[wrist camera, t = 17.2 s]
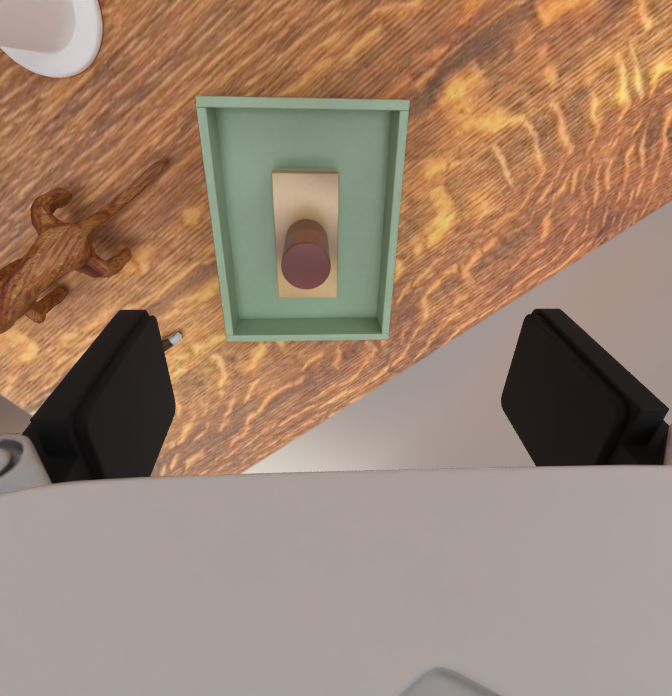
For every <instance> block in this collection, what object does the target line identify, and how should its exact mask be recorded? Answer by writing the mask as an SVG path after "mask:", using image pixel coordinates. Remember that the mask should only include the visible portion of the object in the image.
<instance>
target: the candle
mask: <svg viewBox="0 0 672 696" xmlns="http://www.w3.org/2000/svg"><path fill="white" fill-rule="evenodd" d="M102 32H103V26H102V16H101V10H100V7H99V3H98V0H0V48H1V49H2V50H3V51H4V52H5V53H6V54H7V55H8V56H9V57H10V58H11V59H13V60H14V61H15V62H17V63H18V64H19V65H21V66H23V67H24V68H26V69H28V70H30V71H32V72H34V73H37V74H39V75H43V76H47V77H56V78H64V77H71V76H74V75H77V74H79V73H81V72H82V71H84V70H85V69H86V68H88V67H89V66H90V65H91V64H92V62H93V61H94V59H95V58H96V56H97V54H98V51H99V49H100V45H101V41H102Z"/></svg>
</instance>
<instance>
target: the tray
mask: <svg viewBox="0 0 672 696" xmlns="http://www.w3.org/2000/svg"><path fill="white" fill-rule="evenodd" d="M195 102H196V107H197V108H196V110H197V118H198V125H199V133H200V141H201V148H202V156H203V163H204V171H205V179H206V186H207V194H208V201H209V209H210V217H211V224H212V232H213V239H214V247H215V255H216V262H217V270H218V278H219V285H220V293H221V300H222V308H223V316H224V323H225V331H226V338H227V342H247V341H331V340H388V336H389V334H388V333H389V325H390V314H391V303H392V292H393V281H394V269H395V258H396V247H397V236H398V225H399V214H400V203H401V192H402V181H403V170H404V159H405V148H406V137H407V126H408V115H409V112H408V111H409V104H410V100H402V99H359V98H305V97H251V96H195ZM274 168H310V169H337V170H338V172H339V213H338V266H337V297H320V298H279V297H278V283H277V265H276V248H275V230H274V213H273V195H272V178H271V173H272V171H273V169H274Z"/></svg>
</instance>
